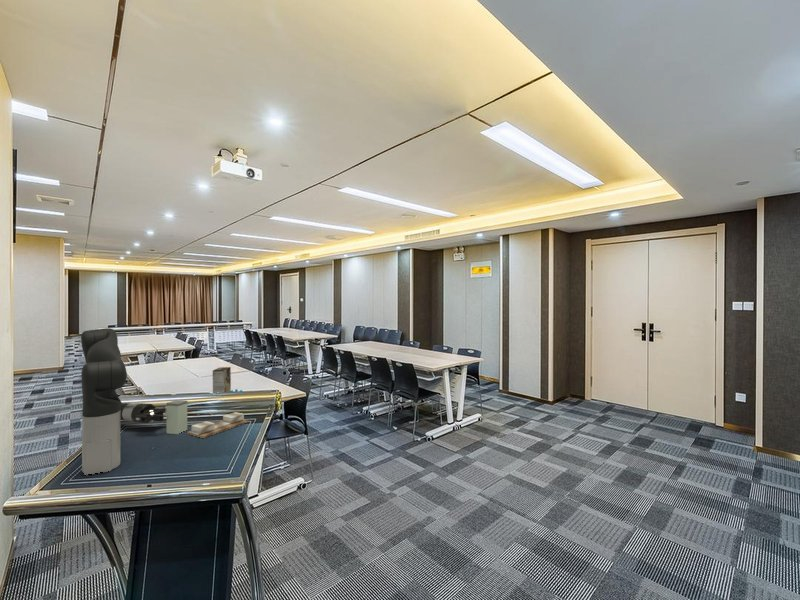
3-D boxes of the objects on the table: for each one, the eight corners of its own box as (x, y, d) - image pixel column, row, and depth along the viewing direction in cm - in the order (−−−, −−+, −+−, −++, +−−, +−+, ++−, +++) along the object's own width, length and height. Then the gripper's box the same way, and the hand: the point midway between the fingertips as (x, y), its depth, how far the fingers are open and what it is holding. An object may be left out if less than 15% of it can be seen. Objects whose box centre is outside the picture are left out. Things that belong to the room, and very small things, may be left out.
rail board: (203, 438, 135) (203, 429, 135) (187, 434, 139) (187, 424, 139) (247, 423, 152) (247, 414, 152) (232, 419, 157) (232, 411, 157)
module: (178, 434, 140) (178, 403, 140) (166, 433, 141) (166, 403, 141) (187, 430, 144) (187, 400, 144) (175, 429, 145) (175, 400, 145)
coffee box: (219, 395, 198) (219, 367, 198) (231, 395, 199) (231, 366, 199) (212, 400, 189) (212, 370, 189) (224, 400, 189) (224, 369, 190)
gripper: (122, 408, 139) (156, 410, 136) (154, 399, 153) (186, 400, 150) (122, 427, 139) (156, 430, 136) (154, 416, 153) (186, 418, 150)
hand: (172, 415), depth 143 cm, fingers open, 8 cm apart
